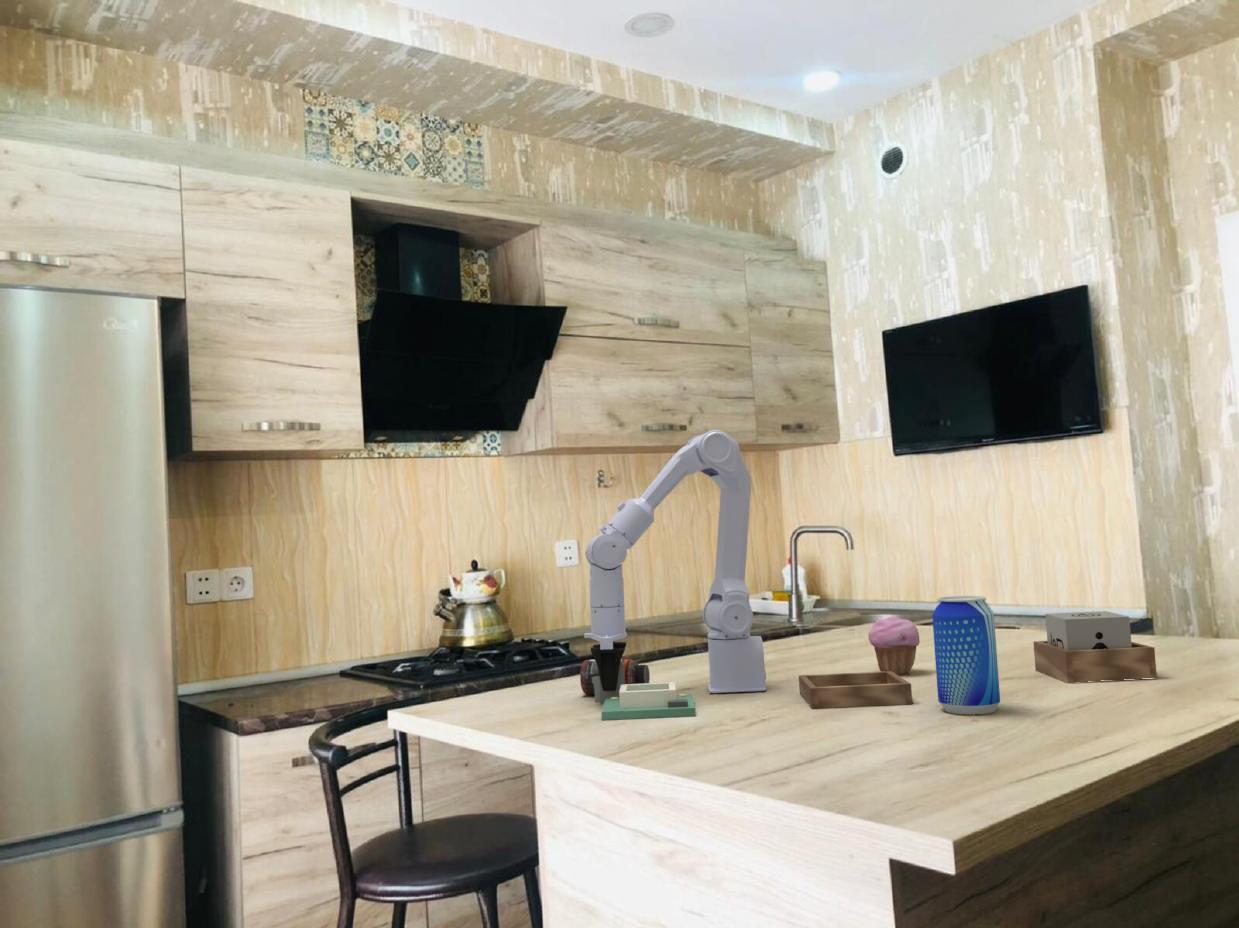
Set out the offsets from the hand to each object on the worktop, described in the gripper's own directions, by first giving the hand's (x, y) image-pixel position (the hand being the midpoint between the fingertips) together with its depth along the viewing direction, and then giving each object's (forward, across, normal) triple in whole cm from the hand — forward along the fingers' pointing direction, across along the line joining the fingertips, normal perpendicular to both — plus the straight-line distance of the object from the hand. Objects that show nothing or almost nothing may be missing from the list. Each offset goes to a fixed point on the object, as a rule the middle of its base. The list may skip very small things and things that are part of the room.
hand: (610, 688), depth 169 cm
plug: (+2, 0, 0) cm, 2 cm away
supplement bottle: (-1, -7, -5) cm, 9 cm away
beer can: (+1, +22, +52) cm, 57 cm away
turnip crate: (+1, +9, +38) cm, 40 cm away
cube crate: (0, -3, +80) cm, 81 cm away
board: (+2, +11, +6) cm, 13 cm away
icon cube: (+1, -3, +80) cm, 80 cm away
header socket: (+1, +11, +6) cm, 13 cm away
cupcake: (+1, -14, +50) cm, 52 cm away
